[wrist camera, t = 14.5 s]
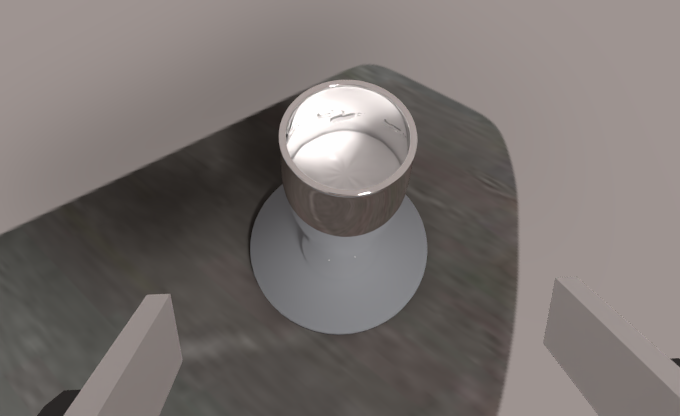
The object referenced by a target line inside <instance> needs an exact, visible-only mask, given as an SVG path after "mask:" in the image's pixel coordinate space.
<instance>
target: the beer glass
mask: <svg viewBox="0 0 680 416" xmlns="http://www.w3.org/2000/svg"><path fill="white" fill-rule="evenodd" d="M279 146H280V160H281V174H282V181H283V188H284V192H285V195H286V199H287V202H288V205H289V208H290V210H291V212H292V214H293V216H294V218H295V220H296V222H297V223H298V225H299V226H300V228H301V229H302V231H303V234H302V250H303V254H304V257H305V259H306V260H307V262H308V264H309V265H310V266H311V267H312V268H313V269H314V270H315V271H316V272H318V273H319V274H321V275H323V276H325V277H327V278H331V279H336V280H345V279H351V278H354V277H356V276H359V275H360V274H362V273H363V272H365V271H366V270H367V269H368V268H369V267H370V266H371V265H372V264H373V262H374V261H375V259H376V256H377V254H378V250H379V236H380V235H381V234H382V233H383V232H384V231H385V230H386V229H387V227H388V226H389V225H390V223H391V222H392V220H393V219H394V218H395V216H396V214H397V213H398V211H399V208H400V206H401V204H402V202H403V199H404V197H405V194H406V191H407V187H408V184H409V180H410V175H411V170H412V165H413V159H414V156H415V153H416V149H417V131H416V126H415V123H414V120H413V118H412V116H411V114H410V112H409V111H408V109H407V108H406V107H405V106H404V104H403V103H402V102H401V101H400V100H399V99H398V98H396V97H395V96H394V95H393V94H391V93H390V92H388V91H387V90H385V89H383V88H381V87H379V86H376V85H374V84H371V83H367V82H363V81H357V80H336V81H330V82H326V83H322V84H319V85H317V86H314V87H312V88H310V89H309V90H307V91H305V92H304V93H302V94H301V95H300V96H298V97H297V98H296V99H295V100H294V101H293V102H292V103H291V105H290V106H289V107H288V109H287V110H286V112H285V114H284V116H283V118H282V120H281V124H280V128H279Z"/></svg>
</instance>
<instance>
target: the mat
mask: <svg viewBox="0 0 680 416" xmlns="http://www.w3.org/2000/svg"><path fill="white" fill-rule="evenodd" d="M302 234H303V231H302V229H301V228H300V226H299V225H298V223H297V222H296V220H295V218H294V216H293V214H292V212H291V210H290V208H289V205H288V202H287V199H286V195H285V192H284V188H283V184H282V185H281V186H280V187H279V188H277V189H276V190H275V191H274V192H273V193H272V194H271V196H270V197H269V198H268V199H267V200H266V202H265V203H264V205H263V206H262V208H261V210H260V211H259V214H258V216H257V218H256V220H255V223H254V227H253V230H252V235H251V241H250V255H251V264H252V267H253V271H254V275H255V277H256V280H257V282H258V284H259V286H260V288H261V290H262V291H263V293H264V295H265V296H266V298H267V299H268V300H269V302H270V303H271V304H272V305H273V307H274V308H276V309H277V310H278V311H279V312H280V313H281V314H282V315H283V316H285V317H286V318H287V319H289V320H290V321H292V322H293V323H295V324H297V325H299V326H301V327H303V328H306V329H309V330H312V331H314V332H319V333H324V334H333V335H345V334H354V333H359V332H364V331H366V330H369V329H372V328H375V327H377V326H379V325H381V324H383V323H385V322H386V321H388V320H389V319H390V318H392V317H393V316H395V315H396V314H397V313H398V312H399V311H400V310H401V309H402V308H403V307H404V306H405V305H406V304H407V303H408V301H409V300H410V299H411V298H412V296H413V295H414V293H415V291H416V290H417V288H418V286H419V284H420V282H421V279H422V277H423V274H424V270H425V267H426V260H427V239H426V233H425V229H424V226H423V222H422V220H421V218H420V215H419V213H418V211H417V210H416V208H415V206H414V205H413V203H412V202H411V201H410V199H409V198H408V197H407V196H406V194H405V197H404V199H403V202H402V204H401V206H400V208H399V211H398V213H397V214H396V216H395V218H394V219H393V220H392V222H391V223H390V225H389V226H388V227H387V229H386V230H385V231H384V232H383V233H382V234H381V235H380V236H379V250H378V254H377V256H376V259H375V261H374V262H373V264H372V265H371V266H370V267H369V268H368V269H367V270H366V271H365V272H363V273H362V274H360V275H359V276H356V277H354V278H351V279H345V280H336V279H331V278H327V277H325V276H323V275H321V274H319V273H318V272H316V271H315V270H314V269H313V268H312V267H311V266H310V265H309V264H308V262H307V260H306V259H305V257H304V254H303V250H302Z"/></svg>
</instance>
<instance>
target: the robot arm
mask: <svg viewBox="0 0 680 416" xmlns="http://www.w3.org/2000/svg"><path fill="white" fill-rule="evenodd" d="M544 345H545V346H546V347H547V349H548V350H549V351H550V353H551V354H552V355H553V357H554V358H555V359H556V360H557V362H558V363H559V364H560V366H561V367H562V368H563V369H564V371H565V372H566V373H567V375H568V376H569V377H570V379H571V380H572V381H573V383H574V384H575V385H576V387H577V388H578V389H579V391H580V392H581V393H582V394H583V396H584V397H585V398H586V400H587V401H588V402H589V404H590V405H591V406H592V407H593V409H594V410H595V411H596V413H597V414H598V415H599V416H680V359H679V358H676V359H670V358H669V357H667V356H666V355H665V354H664V353H663V352H662V351H661V350H660V349H658V348H657V347H656V346H655V345H654V344H653V343H652V342H650V341H649V340H648V339H647V338H646V337H645V336H644V335H643V334H641V333H640V332H639V331H638V330H637V329H636V328H634V327H633V326H632V325H631V324H630V323H629V322H628V321H627V320H625V319H624V318H623V317H622V316H621V315H620V314H619V313H618V312H616V311H615V310H614V309H613V308H612V307H611V306H610V305H608V304H607V303H606V302H605V301H604V300H603V299H601V297H599V296H598V295H597V294H596V293H595V292H594V291H593V290H591V289H590V288H589V287H588V286H587V285H586V284H585V283H584V282H582V281H581V280H580V279H579V278H578V277H558V278H555V283H554V288H553V293H552V299H551V304H550V310H549V315H548V320H547V326H546V331H545V337H544ZM182 361H183V360H182V354H181V349H180V344H179V338H178V333H177V328H176V322H175V317H174V311H173V306H172V301H171V295H170V294H155V295H146V297H145V298H144V300H143V301H142V303H141V304H140V306H139V307H138V308H137V310H136V311H135V313H134V314H133V316H132V317H131V319H130V320H129V321H128V323H127V324H126V326H125V327H124V329H123V330H122V332H121V333H120V334H119V336H118V337H117V339H116V340H115V342H114V343H113V345H112V346H111V347H110V349H109V350H108V352H107V353H106V355H105V356H104V358H103V359H102V361H101V362H100V363H99V365H98V366H97V368H96V369H95V371H94V372H93V374H92V375H91V376H90V378H89V379H88V381H87V382H86V384H85V385H84V387H83V388H82V389H81V390H67V391H63V392H62V393H61V394H59V395H58V396H57V397H56V398H54V399H53V400H52V401H51V402H49V403H48V404H47V405H46V406H44V408H43V409H42V410H41V412H40V413H39V414H38V415H37V416H159V414H160V412H161V410H162V407H163V405H164V403H165V400H166V398H167V396H168V393H169V391H170V389H171V386H172V384H173V382H174V380H175V377H176V375H177V373H178V370H179V368H180V366H181V363H182Z"/></svg>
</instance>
